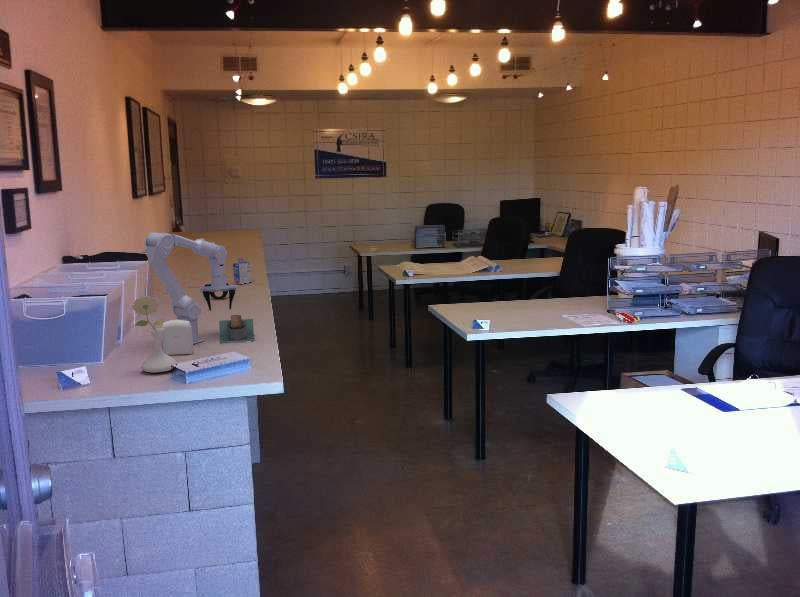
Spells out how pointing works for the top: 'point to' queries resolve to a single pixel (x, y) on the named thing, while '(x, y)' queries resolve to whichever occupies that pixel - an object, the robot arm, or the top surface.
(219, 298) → the controller
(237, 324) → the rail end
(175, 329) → the photo printer
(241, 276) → the ink cartridge box
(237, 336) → the cup bracket
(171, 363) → the flower in vase
